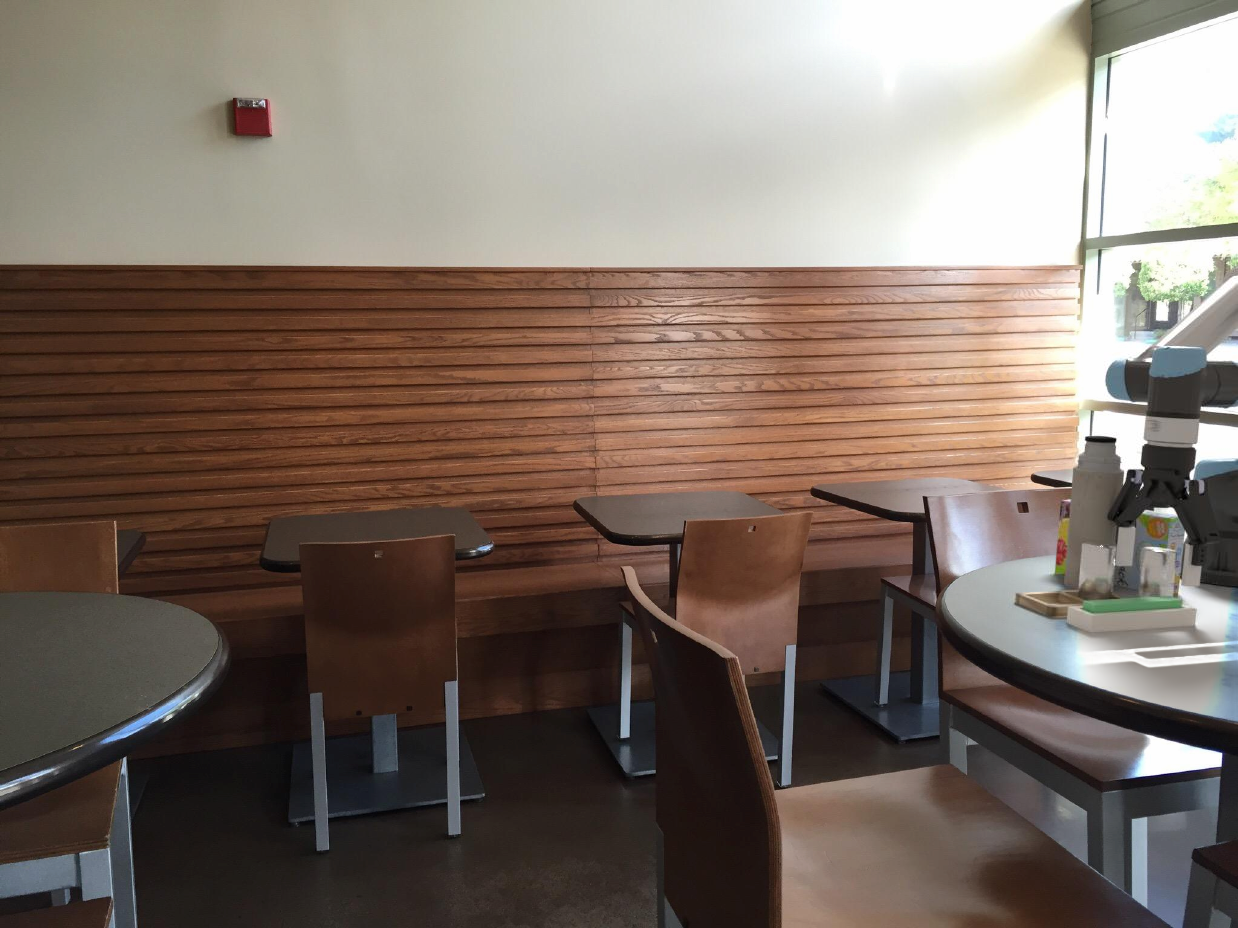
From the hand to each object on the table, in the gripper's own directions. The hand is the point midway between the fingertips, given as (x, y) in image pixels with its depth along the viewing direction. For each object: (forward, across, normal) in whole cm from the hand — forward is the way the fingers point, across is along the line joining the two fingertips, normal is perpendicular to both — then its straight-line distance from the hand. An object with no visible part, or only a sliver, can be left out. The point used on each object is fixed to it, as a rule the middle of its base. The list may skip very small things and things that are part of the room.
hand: (1155, 575), depth 156 cm
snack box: (+7, -17, +8) cm, 20 cm away
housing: (+7, +7, -10) cm, 14 cm away
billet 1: (+5, -3, -8) cm, 11 cm away
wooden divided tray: (+7, -3, -12) cm, 14 cm away
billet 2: (+6, 0, 0) cm, 6 cm away
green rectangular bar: (+6, +7, -10) cm, 14 cm away
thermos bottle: (+7, -14, 0) cm, 16 cm away
